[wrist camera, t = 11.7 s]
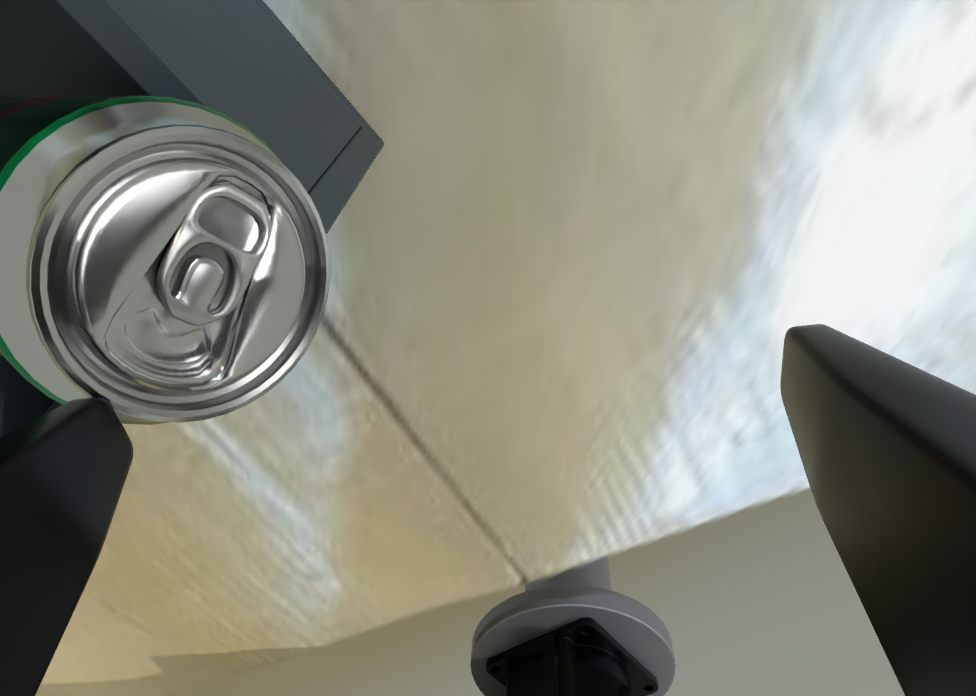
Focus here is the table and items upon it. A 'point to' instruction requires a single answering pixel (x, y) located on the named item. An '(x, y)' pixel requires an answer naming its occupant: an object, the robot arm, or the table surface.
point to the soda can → (152, 256)
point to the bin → (186, 94)
